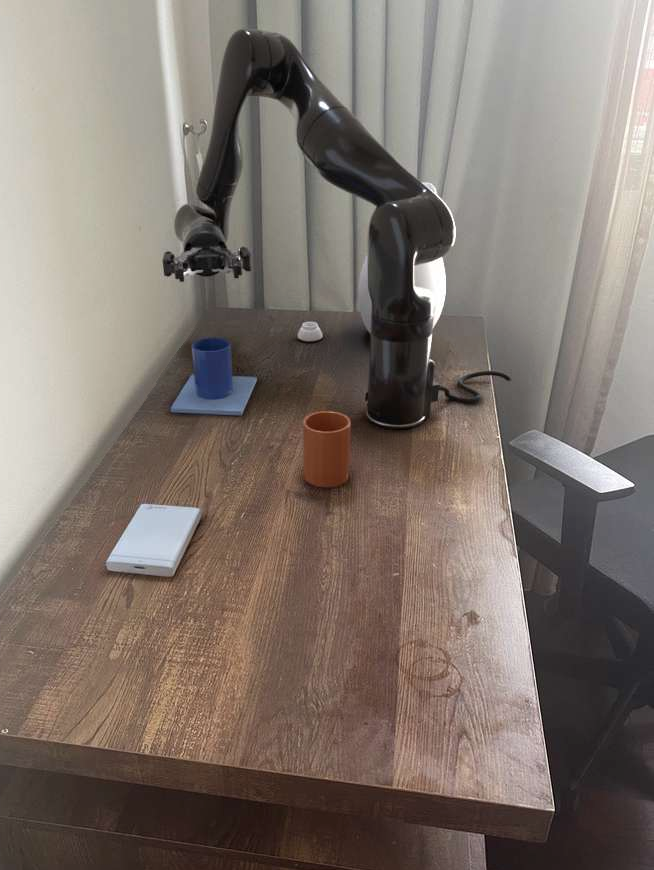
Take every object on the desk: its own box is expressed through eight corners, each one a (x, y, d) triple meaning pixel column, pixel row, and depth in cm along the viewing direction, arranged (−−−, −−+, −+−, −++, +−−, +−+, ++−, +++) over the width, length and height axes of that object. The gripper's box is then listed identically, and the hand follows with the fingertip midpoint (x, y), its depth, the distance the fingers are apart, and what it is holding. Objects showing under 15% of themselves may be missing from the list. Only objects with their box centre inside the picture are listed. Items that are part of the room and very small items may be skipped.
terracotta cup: (336, 460, 108) (337, 407, 103) (356, 481, 103) (358, 427, 98) (296, 469, 106) (295, 416, 101) (314, 491, 101) (314, 436, 96)
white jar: (293, 341, 148) (316, 344, 147) (293, 326, 147) (316, 330, 145) (303, 332, 152) (326, 335, 150) (303, 318, 151) (326, 321, 149)
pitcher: (358, 320, 158) (363, 180, 142) (439, 322, 155) (453, 180, 140) (352, 363, 138) (357, 206, 123) (444, 366, 136) (461, 207, 120)
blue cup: (226, 381, 131) (223, 335, 126) (238, 395, 126) (235, 348, 121) (191, 387, 129) (187, 341, 124) (202, 402, 124) (198, 354, 119)
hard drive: (140, 502, 97) (105, 560, 86) (201, 507, 95) (172, 566, 85) (142, 513, 97) (107, 571, 87) (202, 518, 96) (173, 577, 86)
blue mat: (191, 378, 134) (191, 374, 134) (256, 380, 132) (256, 376, 132) (170, 412, 123) (170, 408, 122) (241, 415, 121) (241, 411, 120)
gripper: (161, 228, 126) (160, 251, 112) (244, 223, 127) (253, 246, 113) (166, 272, 130) (165, 300, 116) (246, 267, 131) (255, 294, 117)
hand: (209, 273), depth 115 cm, fingers open, 8 cm apart
